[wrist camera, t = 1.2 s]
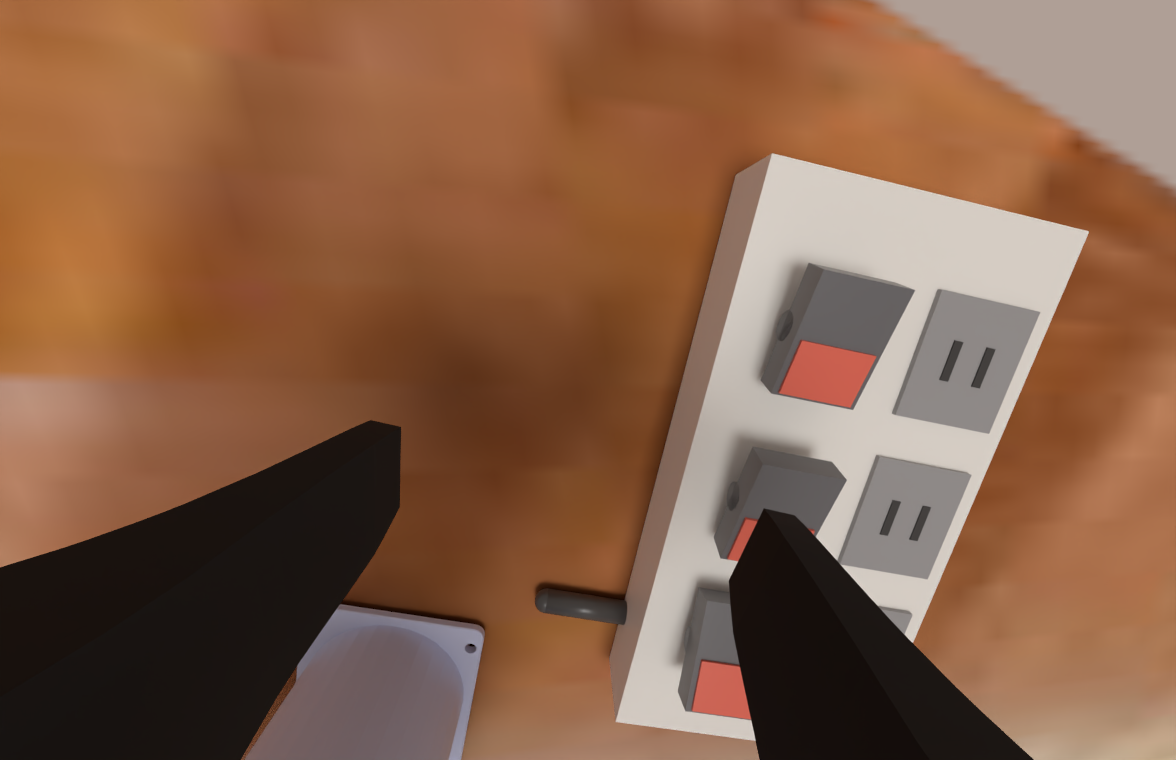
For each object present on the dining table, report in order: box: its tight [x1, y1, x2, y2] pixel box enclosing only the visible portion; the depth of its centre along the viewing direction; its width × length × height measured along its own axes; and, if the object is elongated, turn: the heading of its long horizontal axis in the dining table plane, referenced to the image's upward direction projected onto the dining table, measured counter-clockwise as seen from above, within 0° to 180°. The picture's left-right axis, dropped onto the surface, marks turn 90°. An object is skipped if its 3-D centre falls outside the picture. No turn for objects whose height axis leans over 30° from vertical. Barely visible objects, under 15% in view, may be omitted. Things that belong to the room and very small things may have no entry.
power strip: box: [535, 153, 1089, 741], centre depth 18 cm, size 22×15×3 cm
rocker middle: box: [714, 447, 847, 561], centre depth 16 cm, size 4×3×2 cm
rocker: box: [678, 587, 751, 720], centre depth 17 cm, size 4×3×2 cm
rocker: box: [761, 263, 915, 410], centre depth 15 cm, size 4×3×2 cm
